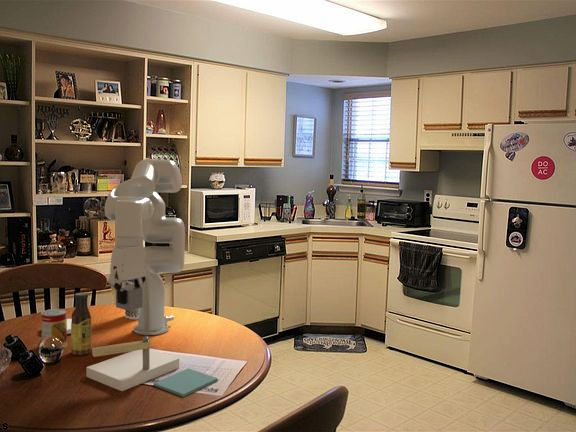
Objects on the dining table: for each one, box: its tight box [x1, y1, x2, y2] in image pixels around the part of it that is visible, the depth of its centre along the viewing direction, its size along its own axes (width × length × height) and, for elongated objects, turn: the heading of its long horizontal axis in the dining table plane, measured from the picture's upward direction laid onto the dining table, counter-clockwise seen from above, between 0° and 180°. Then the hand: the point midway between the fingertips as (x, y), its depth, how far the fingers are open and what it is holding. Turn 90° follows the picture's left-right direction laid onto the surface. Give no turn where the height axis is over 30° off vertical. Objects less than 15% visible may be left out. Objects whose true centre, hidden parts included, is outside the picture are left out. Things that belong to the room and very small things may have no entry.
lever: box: [91, 335, 151, 358], centre depth 162 cm, size 2×16×3 cm, turn 120°
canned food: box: [40, 308, 68, 349], centre depth 190 cm, size 8×8×12 cm
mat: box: [153, 367, 219, 398], centre depth 164 cm, size 14×12×1 cm
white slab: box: [86, 347, 180, 392], centre depth 171 cm, size 22×16×10 cm
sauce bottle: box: [70, 292, 92, 356], centre depth 185 cm, size 7×6×20 cm
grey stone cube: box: [115, 285, 143, 311], centre depth 168 cm, size 5×6×6 cm
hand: (129, 300), depth 168 cm, fingers closed on grey stone cube, 5 cm apart
